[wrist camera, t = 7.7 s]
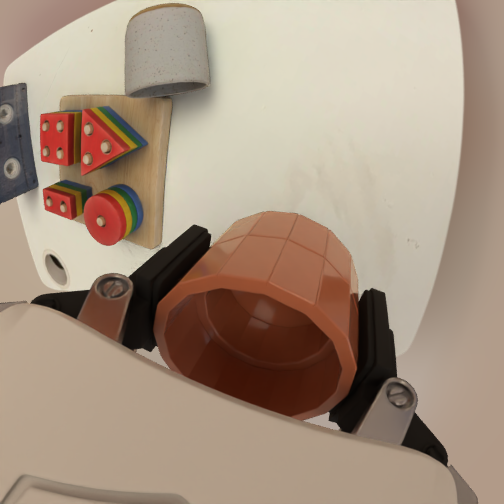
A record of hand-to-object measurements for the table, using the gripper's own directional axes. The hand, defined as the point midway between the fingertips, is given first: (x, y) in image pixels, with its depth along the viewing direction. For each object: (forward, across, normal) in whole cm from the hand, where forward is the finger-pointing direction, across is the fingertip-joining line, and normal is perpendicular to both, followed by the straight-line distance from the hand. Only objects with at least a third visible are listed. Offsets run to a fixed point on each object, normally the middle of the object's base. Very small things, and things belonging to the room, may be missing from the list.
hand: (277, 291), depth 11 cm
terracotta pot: (+1, 0, 0) cm, 1 cm away
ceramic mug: (+18, +17, -8) cm, 26 cm away
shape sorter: (+18, +24, +5) cm, 31 cm away
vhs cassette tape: (+18, +45, +3) cm, 49 cm away
